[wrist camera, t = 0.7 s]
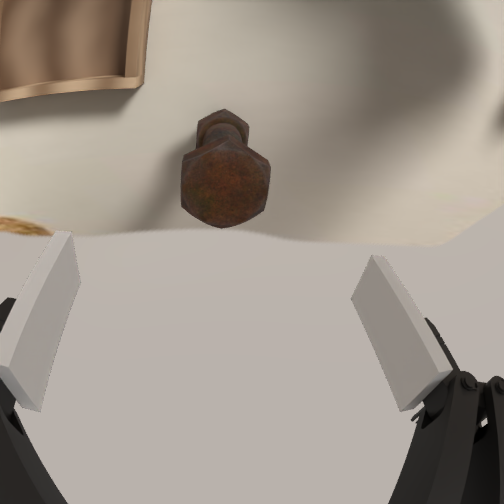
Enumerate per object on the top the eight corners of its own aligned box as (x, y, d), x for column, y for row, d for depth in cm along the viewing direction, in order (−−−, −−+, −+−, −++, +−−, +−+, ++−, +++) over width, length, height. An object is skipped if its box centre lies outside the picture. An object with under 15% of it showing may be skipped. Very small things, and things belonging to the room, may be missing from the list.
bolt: (206, 157, 32) (200, 241, 20) (184, 116, 29) (158, 175, 17) (258, 134, 31) (287, 205, 19) (238, 90, 28) (254, 131, 16)
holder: (166, -78, 16) (161, -90, 13) (143, 83, 26) (135, 88, 24) (10, -44, 13) (-7, -48, 10) (-2, 98, 23) (-19, 106, 21)
